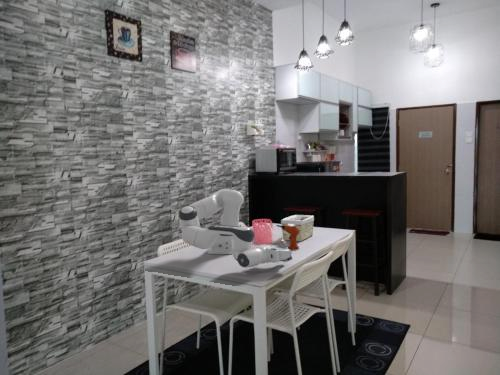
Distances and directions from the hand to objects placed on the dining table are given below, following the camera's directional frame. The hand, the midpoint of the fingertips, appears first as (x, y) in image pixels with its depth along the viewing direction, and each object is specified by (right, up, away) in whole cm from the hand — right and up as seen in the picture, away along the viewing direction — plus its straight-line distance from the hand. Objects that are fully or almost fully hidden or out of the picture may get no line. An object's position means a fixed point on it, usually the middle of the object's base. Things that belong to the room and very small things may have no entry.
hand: (283, 248), depth 209 cm
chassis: (-3, -8, +16) cm, 18 cm away
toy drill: (+6, -5, +37) cm, 38 cm away
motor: (0, -6, 0) cm, 6 cm away
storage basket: (+16, -3, +64) cm, 66 cm away
